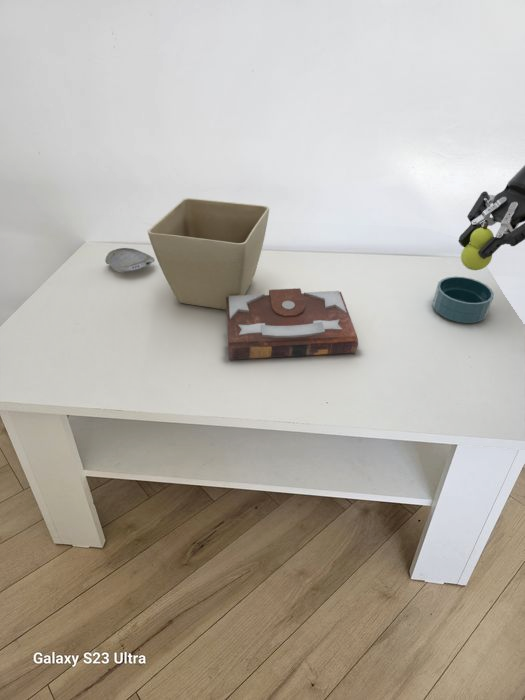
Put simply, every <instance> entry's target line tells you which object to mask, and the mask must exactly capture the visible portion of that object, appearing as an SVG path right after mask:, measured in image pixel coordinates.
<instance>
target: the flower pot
mask: <svg viewBox="0 0 525 700" xmlns="http://www.w3.org/2000/svg"><path fill="white" fill-rule="evenodd" d="M269 213H270V207H269V206H268V205H259V204H252V203H241V202H232V201H223V200H212V199H204V198H203V199H201V198H192V197H186V198H183V199H181V200H180V201H179V202H178V203H177V204H175V206H174V207H173V208H172V209H170V210H168V212H167V213H166V214H165V215H163V216H162V217H161V218H160V219H159V220H158V221H157V222H156V223H154V224H153V225H152V226H151V227H150V228H149V229H147V235H148V239H149V241H150V244H151V247H152V250H153V253H154V255H155V257H156V260H157V262H158V265H159V267H160V269H161V272H162V274H163V275H164V278H165V280H166V282H167V283H168V285H169V287H170V289H171V291H172V292H173V295H174V296H175V297H176V299H177V300H178V302H179V303H181V304H187V305H192V306H200V307H205V308H212V309H218V310H224V311H225V310H226V311H227V304H226V297H229V296H237V295H246V294H247V291H249V288H250V286H251V285H252V282H253V280H254V277H255V275H256V271H257V268H258V265H259V262H260V261H259V260H260V257H261V253H262V250H263V246H264V241H265V237H266V231H267V225H268V220H269Z"/></svg>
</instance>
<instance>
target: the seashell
mask: <svg viewBox="0 0 525 700" xmlns="http://www.w3.org/2000/svg"><path fill="white" fill-rule="evenodd" d="M104 261H105V264H106V265H109V266H111V268H112V270H114V271H116V272H119V273H130V272H132V271H137V270H141V269H145V268H147V267H149V266H150V265H151V264H153V263H155V261H156V259H155V258H154V257H152V256H151V255H150V254H148V253H146V252H143V251H141V250H139V249H135V248H130V247H120V248H115V249H113V250H110V251H109V252H108V253H107V255H106V257H105V259H104Z"/></svg>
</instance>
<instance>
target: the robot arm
mask: <svg viewBox="0 0 525 700" xmlns="http://www.w3.org/2000/svg"><path fill="white" fill-rule="evenodd" d="M466 217H467V219H468V221H469V223H470V225H469V226H468V227H467V228H466V229H464V231H463V232H462V233H461V234H460V235H459V237H458V241H457V242H458V243H459V245H460V246H461V247H463V248H464V247H465V246H466V245H468V244H469V243H470V236H471V234H472V233H473V231H475V230H476V229H478V228H482V227H483V226H484V223H485V222H488V227H491V226H494V225H495V224H497V223H500V227H499V229H498V230H497V232H496V234H495V236H494V237H492V238H491V239H490V240H489V241H488V242H487V243H486V244H485V245H484V246H483V247H482V248H481V249H480V250H479V251H478V254H479V256H480V257H481V258H483V259H485V258H487V257H490V256H491V255H492V256H493V255H494V253H496V251H497V250H498V249H500V247H501V246H504V245H510V247H516V246H517V245H518V244H520V243H521V242H524V241H525V164H524V165H523V166H522V167H521V168H520V169H519V170H518V171H517V172H516V173H515V175H513V177H511V179H509V181H508V182H507V184H506V186H505V188H504V189H503V190H502V191H500V192H499V193H496V194H495V195H494V194H489V193H488V191H485V190H484V191H482V192H481V193H480V195H479V196H478V197H477V200H476V201H475V203H474V204H473V206H472V208H471V209H470V211H469V212H468V214H467V216H466ZM521 223H522V224H521Z"/></svg>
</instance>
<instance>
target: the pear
mask: <svg viewBox="0 0 525 700" xmlns="http://www.w3.org/2000/svg"><path fill="white" fill-rule="evenodd" d="M488 227H489V226H488V222H485V223H484V226H483V227H482V228H478V229H476V230H475V231H473V233H472V234H471V236H470V243H469V244H468V245H466V246H465V247H463V249H462V250H461V253H460V260H461V263H462V265H463V266H464V267H465V268H466V269H468V270H471V271H481V270H483V269H485V268H487V267H488V266H489V264H490V263H491V261H492V259H493V254H492V255H491V256H490V257H487V258H485V259H483V258H481V257H480V256H479V254H478V251H479V250H480V249H481V248H482V247H483V246H484V245H485V244H486V243H487V242H488V241H489V240H490V239H491V238H492V237H495V236H494V232H493V231H492V230H491V229H490V228H488Z"/></svg>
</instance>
